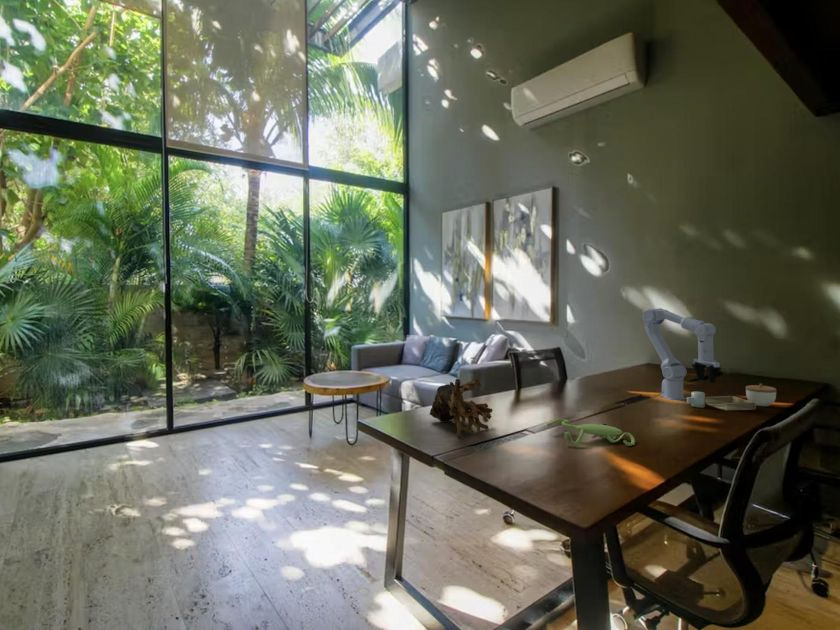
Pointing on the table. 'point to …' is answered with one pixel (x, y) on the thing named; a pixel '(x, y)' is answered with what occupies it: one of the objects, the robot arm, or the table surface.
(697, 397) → the jug
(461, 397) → the decorative coral sculpture
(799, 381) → the table surface
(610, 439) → the figurine
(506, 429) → the table surface
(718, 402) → the beige shallow tray
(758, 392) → the lidded jar
